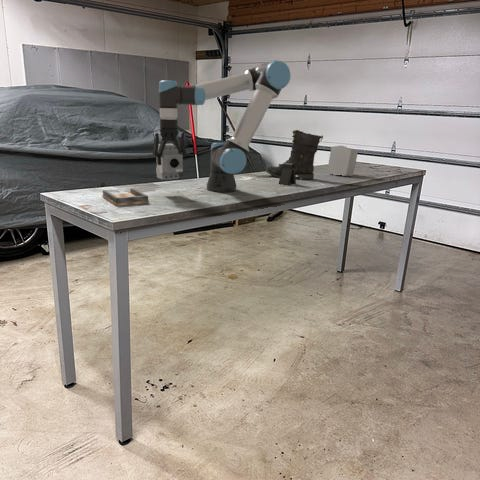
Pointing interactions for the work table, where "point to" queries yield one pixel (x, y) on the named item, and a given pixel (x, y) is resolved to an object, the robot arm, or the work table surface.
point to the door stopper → (287, 174)
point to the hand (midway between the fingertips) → (170, 171)
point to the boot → (300, 155)
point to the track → (126, 198)
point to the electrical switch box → (342, 161)
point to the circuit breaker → (170, 163)
